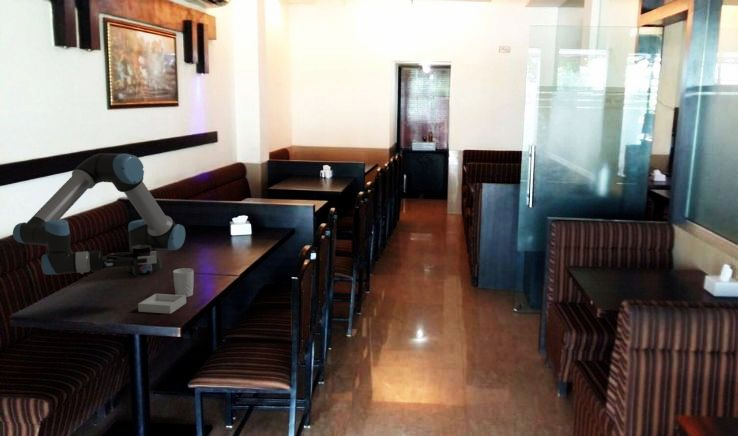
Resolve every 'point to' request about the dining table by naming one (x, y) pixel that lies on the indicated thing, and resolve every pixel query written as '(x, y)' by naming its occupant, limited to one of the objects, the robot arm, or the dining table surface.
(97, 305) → the dining table surface
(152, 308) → the tray
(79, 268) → the robot arm
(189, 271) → the white cup
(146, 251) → the supplement container
